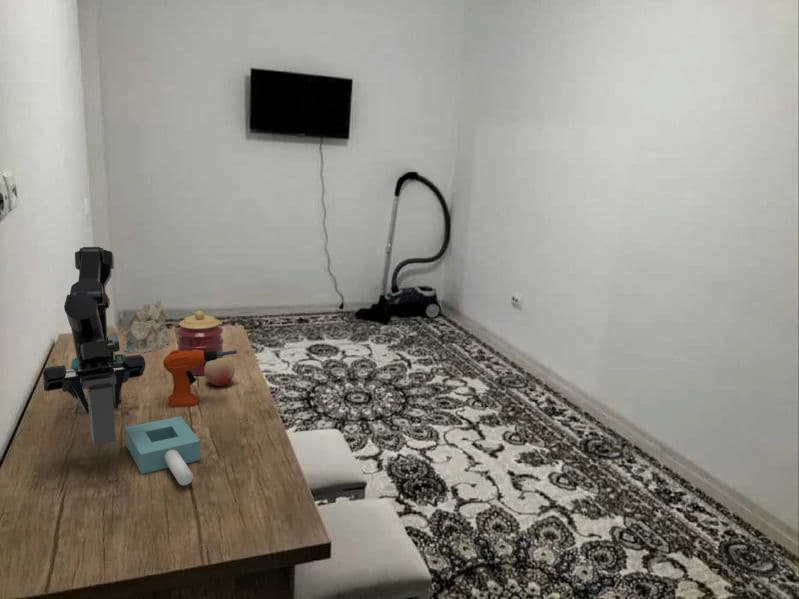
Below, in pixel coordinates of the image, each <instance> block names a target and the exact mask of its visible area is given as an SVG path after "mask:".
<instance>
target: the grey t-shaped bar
mask: <svg viewBox="0 0 799 599" xmlns="http://www.w3.org/2000/svg"><path fill="white" fill-rule="evenodd" d="M114 384H116V376H115V374H111V375H104V376H98V377H91V378H84V379H82V384H81V385H82V388H83V390H86V391H87V392H88V394H87V402H88V404H89V408H88V410H89V413H88V414H89V428H90V430H89V431H90V439H91V442H92V444H93V446H94V447H98V446H103V445H106V444H112V443H116V442H117V438H116V424H115V423H116V421H115V410H114V409H115V408H114V407H115V405H114V406H113V391H112V386H111V385H114ZM87 392H86V393H87Z"/></svg>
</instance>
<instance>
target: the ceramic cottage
mask: <svg viewBox="0 0 799 599" xmlns="http://www.w3.org/2000/svg"><path fill="white" fill-rule="evenodd" d="M166 319H167V315H166V314H165V313H164V311H163V308H162V304H161V300H160V299H158V300H156V302H155V303H154V306H153V305H151V304H150V303H149V302H145V303H144V304H143V310H141V311H138V312H135V313H134V314H133V317H132V319H131V320H130V321H128V323H127V325H126V326H127V328H128V330H127V331H126V332H127V334H126V335H125V336H124V337H125V341H124V343H123V347H122V351H123V352H125V351H126V352H125V353H131V354H133V353H137V354H136V355H139V354H138V353H140V354H144V352H145V353H150V352H149V351H151V352H155V350H156V351H158V349H159V350H161V349H164V348H166V347H167V346H168V345H167V344H169V345H170V339H169V337H168V327H167V326H166ZM166 345H167V346H166ZM165 346H166V347H165Z"/></svg>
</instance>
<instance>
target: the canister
mask: <svg viewBox="0 0 799 599" xmlns="http://www.w3.org/2000/svg"><path fill="white" fill-rule="evenodd" d="M220 323H221V321H220V320H219V319H217V318H215V316H212V315H209V314H205V313H204V311H202V310H197V311H196V312H195V314H194V315H190V316H186V317H184V319H183V320H180V322H179V326H180V327H179V328H178V329H176V334H177V335H178V340H177V342H176V344H177V350H179V351H185V350H187V351H192V350H201V351H217V353H219V352H224V349H223V348H224V344H223V343H224V339H223V337H222V334H223V332H224V328H223V327H222V326H220ZM218 358H224V356H219V357H218ZM206 363H207V362H205V363H204V364H202V365H200V366H197V367H195V368H192V369H190V370H188V371H190V372H191V373H192V375H193V376H205V375H204V367H205V365H206Z"/></svg>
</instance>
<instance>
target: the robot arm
mask: <svg viewBox="0 0 799 599" xmlns="http://www.w3.org/2000/svg"><path fill="white" fill-rule="evenodd" d="M74 267H75V268H76V270H79V274H78V280H77V281H76V282H75V283H73V284H72V285H71V287H70V293H69V294H67V295H66V298H65V302H64V307H63V308H64V309H63V310H64V313H65V314H66V317H67V320H68V323H69V324H68V325H69V326H70V328H71V333H72V339H73V345H74V350H75V356H76V357H75V358H77V362H78V368H79V369H77V370H76V369H72V368H70V369H67V368H66V365H65V364H63V365H56V366H48V367H45V368H44V369H43V370H42V386H43V391H45V392H51V391H58V390H62V392H63V393H69V394H70V395H71V396H72V398H74V399H75V401H76V402H77V404H79V406H80V407H81V409H82V410H83V411H84V413H85V414H86V415H88V414H89V404H88V400H87V399H86V395H85V392H84V389H83V387H82V379H84V378H91V377H98V376H104V375H111V374H115V376H116V384H114V385H111V386H112V391H113V406H114V407H115V408H114V409H119V404H120V403H122V399H121V398H120V397H121V391H122V390H121V389H122V386H123V384H124V383H127V382H128V381H129V379H134V378H139V377H141V376H143V375H144V373H145V368H146V366H147V365H146V360H145V357H144V356H143V355H142V354H133V355H126V357H123V360H122V363H118V360H115V355H116V354H115V353H116V352H119V351H120V348H121V347H120V341H119V338H118V334H116V335H110V336H109V335H108V324H107V323H108V322H107V319H108V318H107V310H108V309H109V308H110V304H111V299H110V298H109V295H108V294H107V292H106V286H107V285H108V283H109V281H110V280H111V278H112V270H114V269H115V259H114V253H113V252H112V251H111V250H106V249H104V247H100V246H83V247H80V248H79V250H78V251H75V252H74ZM86 393H87V395H88V392H86Z"/></svg>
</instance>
